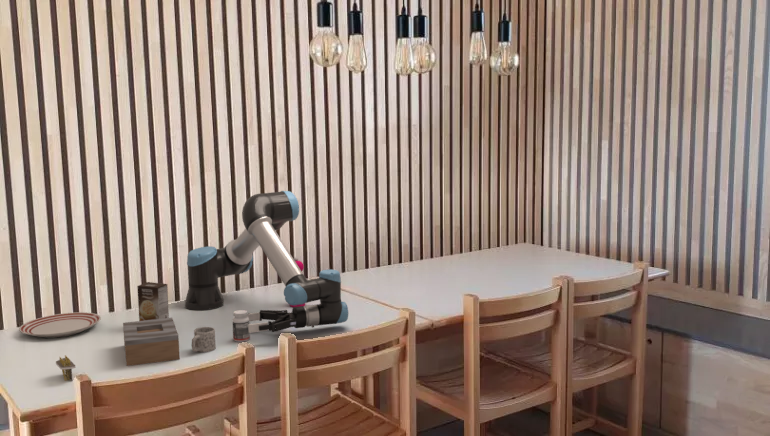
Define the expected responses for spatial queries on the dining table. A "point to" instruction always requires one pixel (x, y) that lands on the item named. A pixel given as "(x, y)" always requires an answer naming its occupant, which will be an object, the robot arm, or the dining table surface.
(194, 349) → the mug
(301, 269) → the pepper mill
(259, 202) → the robot arm
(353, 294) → the dining table surface
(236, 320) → the pill bottle
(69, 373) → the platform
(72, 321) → the dinner plate
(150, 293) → the coffee box
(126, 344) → the tissue box
